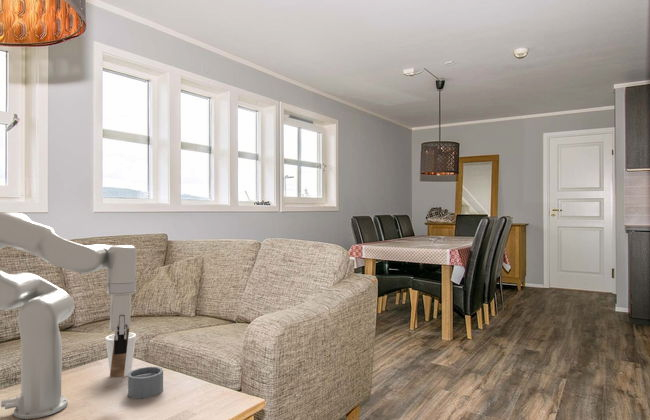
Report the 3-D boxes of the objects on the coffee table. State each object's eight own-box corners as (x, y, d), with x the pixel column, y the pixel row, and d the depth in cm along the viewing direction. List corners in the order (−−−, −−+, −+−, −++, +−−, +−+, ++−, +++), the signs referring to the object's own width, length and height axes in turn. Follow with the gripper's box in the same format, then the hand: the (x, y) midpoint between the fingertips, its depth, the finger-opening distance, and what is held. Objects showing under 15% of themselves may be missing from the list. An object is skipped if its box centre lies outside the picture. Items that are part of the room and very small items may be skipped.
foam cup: (141, 372, 149) (141, 335, 149) (116, 381, 141) (116, 341, 141) (125, 367, 154) (125, 331, 154) (99, 375, 146) (99, 337, 146)
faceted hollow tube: (129, 401, 126) (129, 380, 126) (127, 389, 135) (127, 369, 135) (164, 394, 131) (164, 374, 131) (160, 383, 139) (160, 364, 139)
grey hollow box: (134, 395, 129) (134, 381, 129) (132, 389, 133) (133, 376, 133) (158, 390, 132) (158, 377, 132) (156, 384, 136) (156, 372, 137)
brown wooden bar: (110, 377, 122) (116, 327, 123) (109, 375, 124) (115, 325, 125) (123, 377, 123) (129, 327, 124) (123, 374, 126) (128, 325, 126)
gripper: (106, 285, 130) (105, 346, 129) (107, 293, 116) (106, 362, 115) (133, 283, 133) (132, 343, 133) (138, 291, 119) (136, 358, 119)
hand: (120, 351), depth 124 cm, fingers closed on brown wooden bar, 2 cm apart
